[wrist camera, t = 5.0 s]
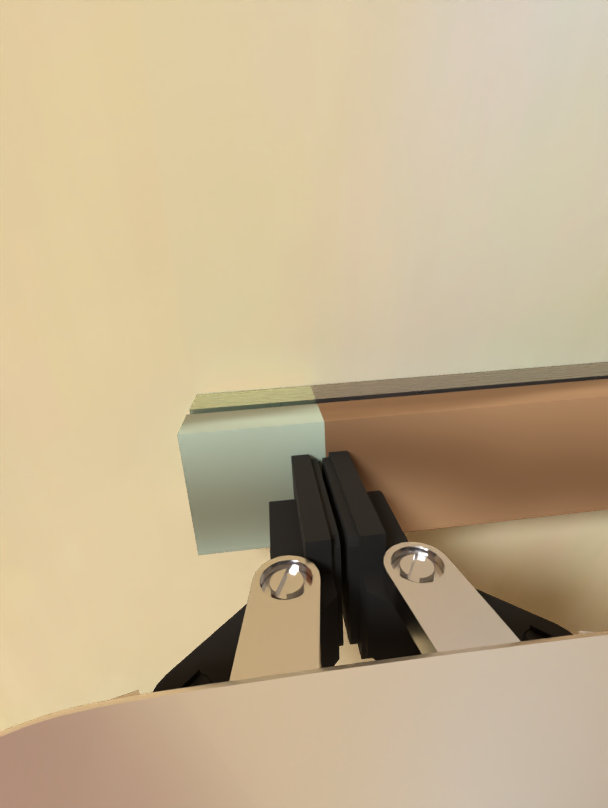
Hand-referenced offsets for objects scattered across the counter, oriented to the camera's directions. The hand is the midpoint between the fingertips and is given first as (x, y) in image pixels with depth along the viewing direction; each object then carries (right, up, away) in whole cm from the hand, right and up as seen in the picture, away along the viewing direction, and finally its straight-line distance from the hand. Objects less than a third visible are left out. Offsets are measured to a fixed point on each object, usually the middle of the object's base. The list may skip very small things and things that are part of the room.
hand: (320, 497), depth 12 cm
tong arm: (+6, +1, +2) cm, 6 cm away
